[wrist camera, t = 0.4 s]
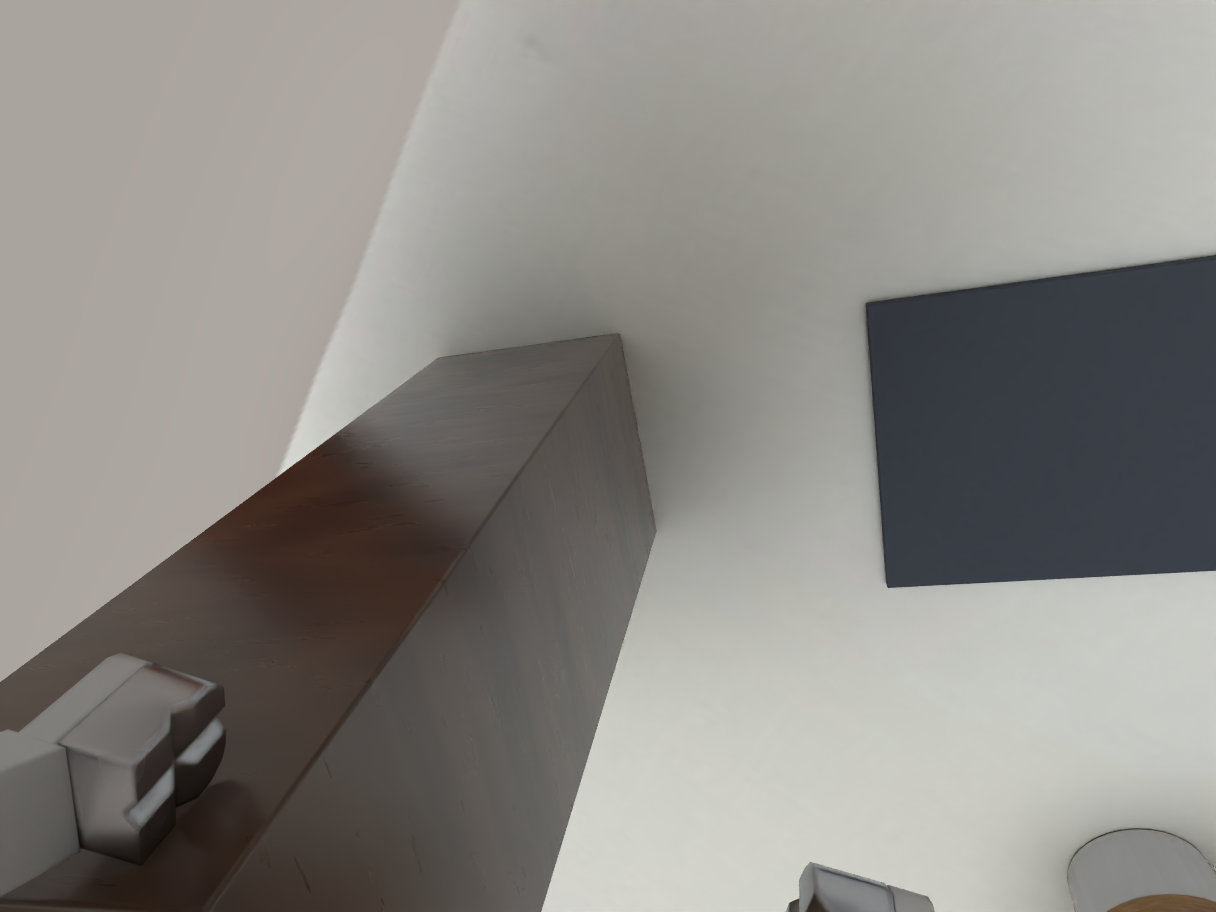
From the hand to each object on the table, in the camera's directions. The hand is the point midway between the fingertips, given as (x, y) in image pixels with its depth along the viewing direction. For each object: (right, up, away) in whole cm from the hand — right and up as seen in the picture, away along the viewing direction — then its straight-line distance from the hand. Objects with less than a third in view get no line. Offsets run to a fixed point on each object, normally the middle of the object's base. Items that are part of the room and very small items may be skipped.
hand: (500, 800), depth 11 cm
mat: (+21, +6, +19) cm, 29 cm away
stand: (-1, +5, +24) cm, 25 cm away
